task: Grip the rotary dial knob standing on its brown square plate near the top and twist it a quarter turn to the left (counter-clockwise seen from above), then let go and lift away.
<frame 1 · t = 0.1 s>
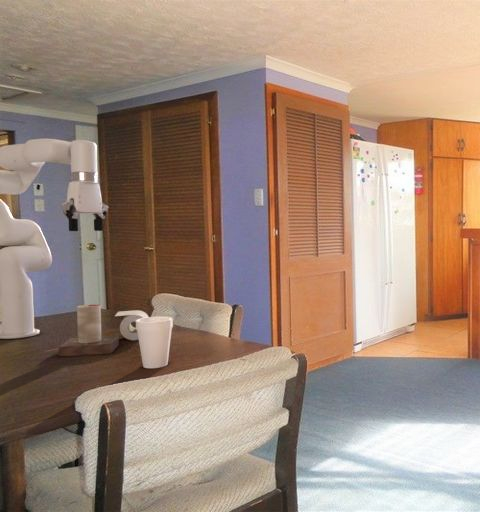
hand: (86, 230, 174), 37 cm above the table, tool pointing down, fingers open, 9 cm apart
brown square plate: (90, 350, 165), on the table
toilet paper holder: (140, 337, 185), on the table
rotary dial knob: (89, 322, 164), point 9 cm above the table, hinge at 0.0°
foam cup: (155, 365, 148), on the table
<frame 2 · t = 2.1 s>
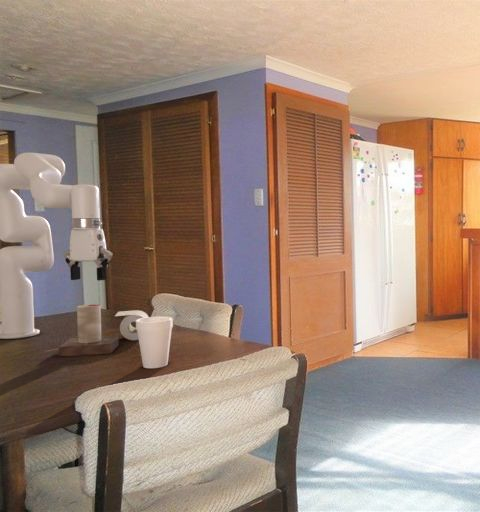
hand: (88, 279, 164), 22 cm above the table, tool pointing down, fingers open, 9 cm apart
nothing on the table moved.
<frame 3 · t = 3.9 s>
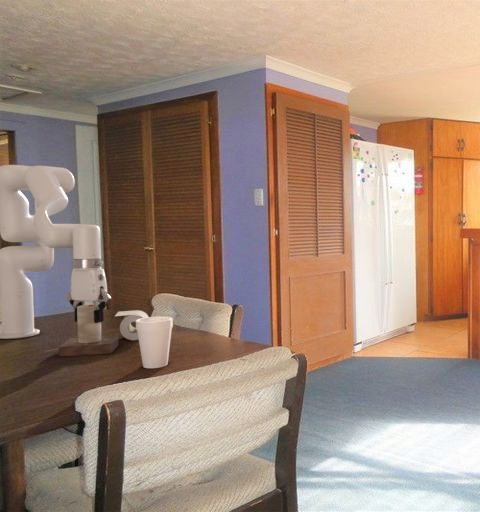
hand: (89, 321, 164), 9 cm above the table, tool pointing down, fingers closed on rotary dial knob, 6 cm apart
rotary dial knob: (89, 322, 164), point 9 cm above the table, hinge at 0.0°, touching gripper
everything else where it was.
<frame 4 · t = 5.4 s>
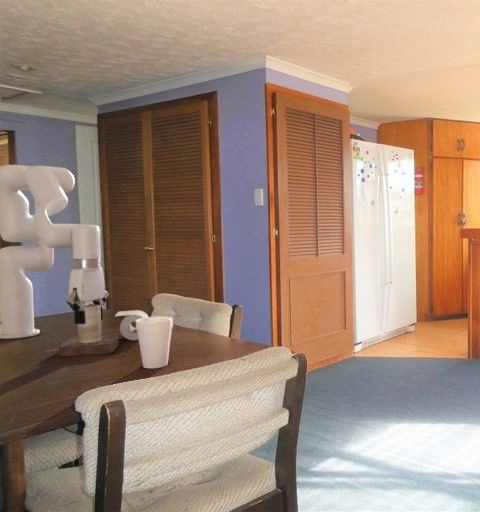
hand: (89, 321, 164), 9 cm above the table, tool pointing down, fingers closed on rotary dial knob, 6 cm apart
rotary dial knob: (89, 322, 164), point 9 cm above the table, hinge at 92.2°, touching gripper
everything else where it was.
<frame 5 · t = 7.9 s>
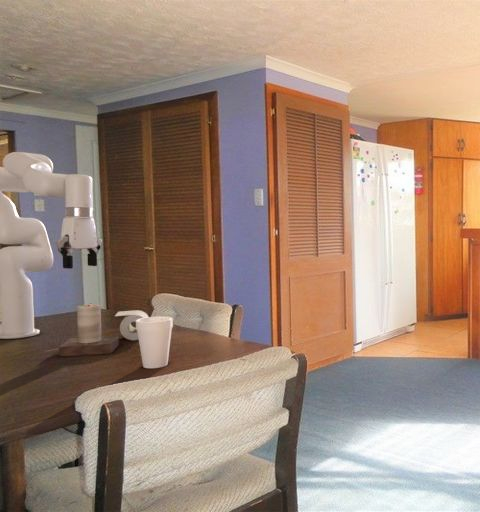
hand: (80, 267, 169), 26 cm above the table, tool pointing down, fingers open, 9 cm apart
rotary dial knob: (89, 322, 164), point 9 cm above the table, hinge at 91.8°
everything else where it was.
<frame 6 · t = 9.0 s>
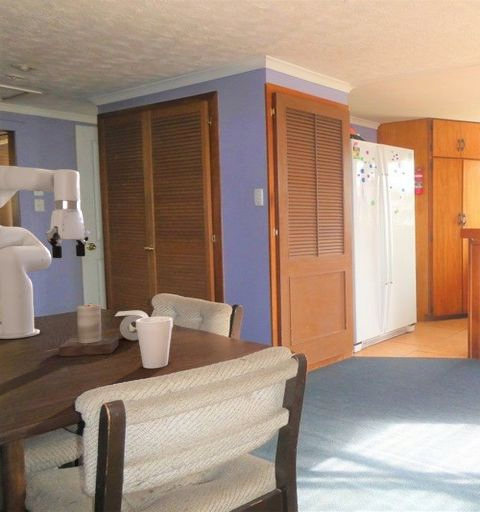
hand: (69, 257, 179), 28 cm above the table, tool pointing down, fingers open, 9 cm apart
nothing on the table moved.
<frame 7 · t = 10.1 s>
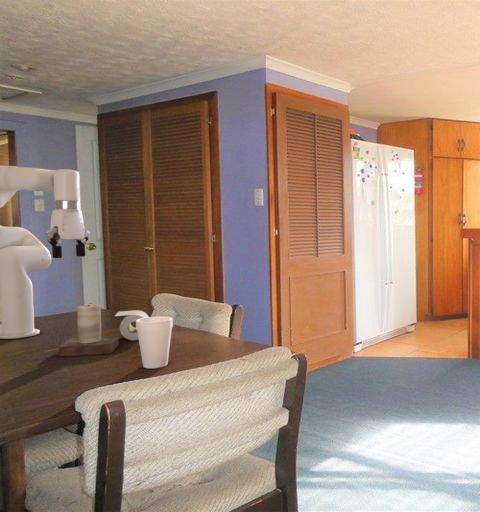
hand: (69, 257, 179), 28 cm above the table, tool pointing down, fingers open, 9 cm apart
nothing on the table moved.
at the end: rotary dial knob at +92° (first picture: +0°) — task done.
